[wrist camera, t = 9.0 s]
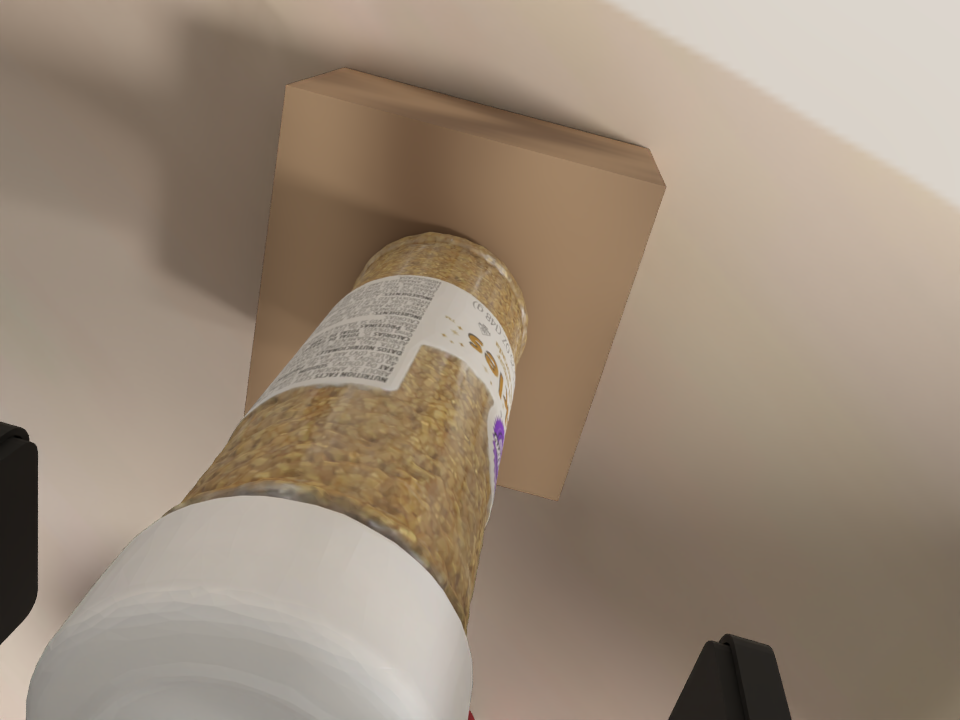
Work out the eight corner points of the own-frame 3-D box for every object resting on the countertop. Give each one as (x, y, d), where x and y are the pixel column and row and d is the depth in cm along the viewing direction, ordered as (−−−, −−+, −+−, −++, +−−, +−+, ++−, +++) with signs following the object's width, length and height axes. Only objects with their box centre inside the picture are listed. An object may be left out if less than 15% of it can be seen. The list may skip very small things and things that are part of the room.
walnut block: (649, 149, 23) (666, 186, 18) (561, 415, 27) (557, 501, 22) (344, 67, 23) (285, 84, 18) (301, 345, 27) (243, 416, 22)
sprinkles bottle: (542, 383, 21) (489, 937, 8) (374, 404, 21) (104, 936, 9) (512, 210, 19) (391, 592, 7) (329, 240, 20) (-75, 628, 7)
